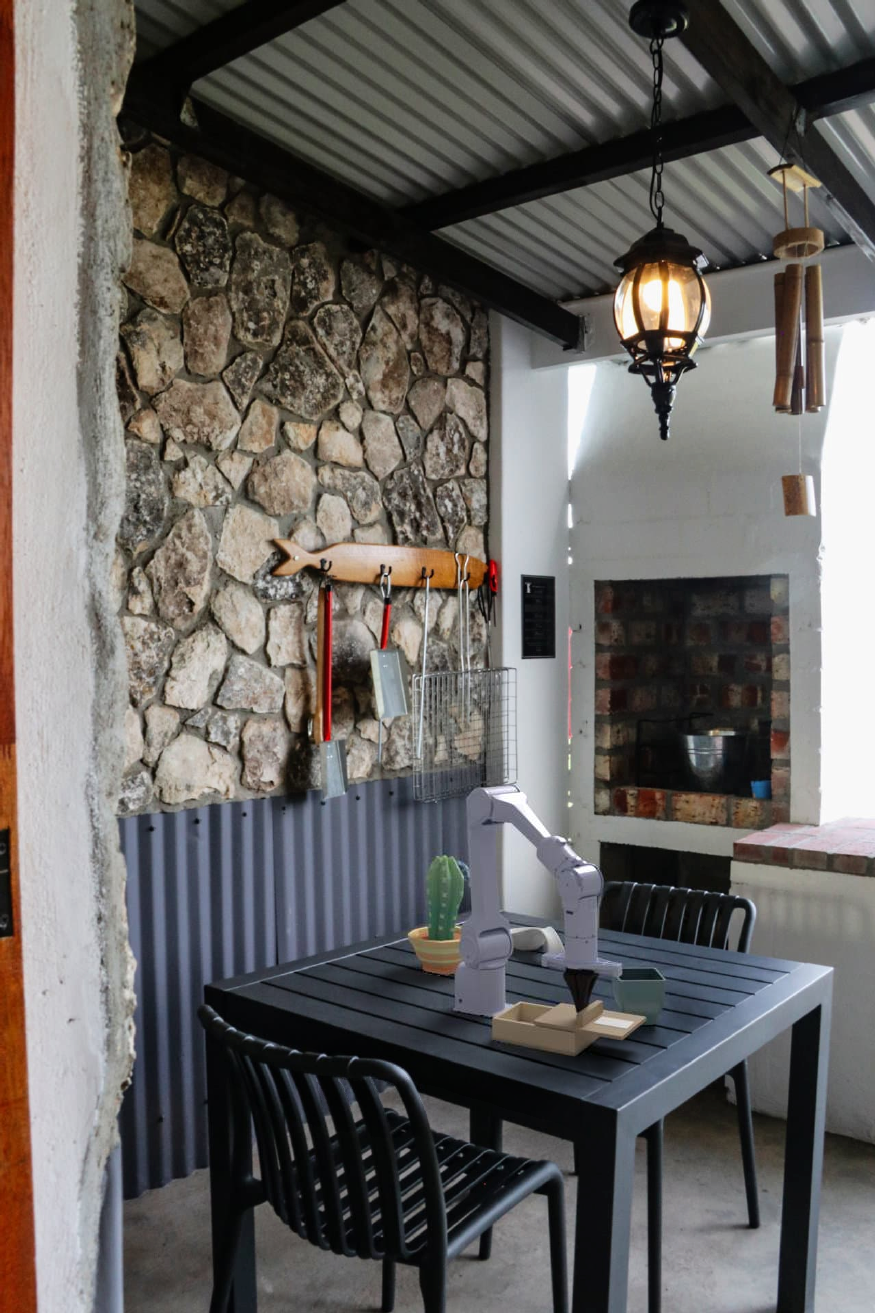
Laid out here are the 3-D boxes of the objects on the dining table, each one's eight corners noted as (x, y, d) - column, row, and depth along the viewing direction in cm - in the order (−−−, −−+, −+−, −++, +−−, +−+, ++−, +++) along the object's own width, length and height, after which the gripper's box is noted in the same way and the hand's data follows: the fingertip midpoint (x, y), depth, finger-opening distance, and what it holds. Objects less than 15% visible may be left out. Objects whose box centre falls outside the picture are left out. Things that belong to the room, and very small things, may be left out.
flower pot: (656, 1013, 207) (655, 966, 207) (667, 1029, 198) (666, 980, 198) (610, 1014, 207) (610, 967, 207) (620, 1030, 198) (619, 981, 198)
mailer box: (492, 1040, 193) (492, 1018, 193) (520, 1023, 202) (520, 1001, 202) (574, 1056, 185) (574, 1033, 185) (599, 1037, 194) (599, 1014, 194)
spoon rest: (493, 944, 261) (492, 914, 261) (537, 939, 265) (536, 910, 265) (535, 969, 239) (535, 936, 239) (582, 963, 243) (582, 931, 243)
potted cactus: (478, 979, 231) (476, 862, 231) (406, 980, 231) (404, 863, 231) (477, 960, 246) (475, 850, 246) (409, 960, 246) (408, 851, 247)
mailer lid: (533, 1024, 188) (533, 1009, 188) (561, 1006, 198) (561, 992, 198) (622, 1040, 180) (621, 1024, 180) (646, 1020, 190) (646, 1005, 190)
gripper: (533, 934, 190) (534, 1011, 190) (610, 944, 183) (612, 1025, 183) (550, 926, 196) (551, 1001, 196) (626, 935, 189) (627, 1013, 189)
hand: (581, 1012), depth 190 cm, fingers closed
